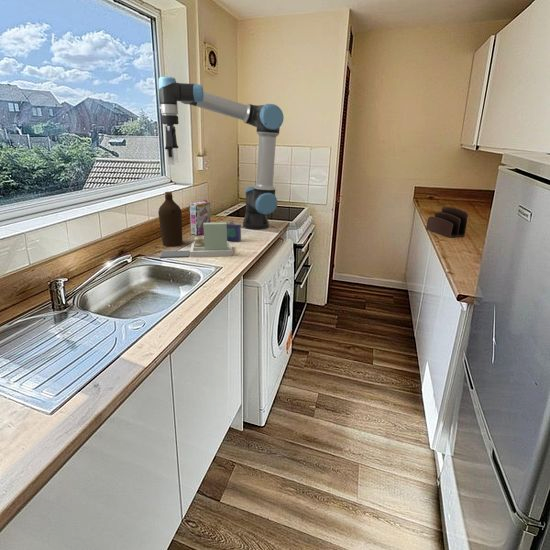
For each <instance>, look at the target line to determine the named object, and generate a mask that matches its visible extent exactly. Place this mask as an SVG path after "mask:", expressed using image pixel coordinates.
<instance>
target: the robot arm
mask: <svg viewBox="0 0 550 550" xmlns="http://www.w3.org/2000/svg"><path fill="white" fill-rule="evenodd" d="M158 93H159V95H158V96H159V104H160V105H159V106H158V108H159V110H160V114H161V116H160V119H161V124H163V125H166V126H165V147H164V149H165V150H166V155H167V165H169V166H170V165H175V163H178V162H179V160H178V159H179V158H178V149H179V145H178V141H177V140H178V139H177V134H176V133H177V132H176V130H177V129H176V126H175V125H179V124H180V123H179V116H178V115H179V110H178V109H179V108H178V102H181V104H184V105H189V106H194V107H197V108H201V109H203V110H206V111H207V110H208V111H210V112H214V113H217V114H221V115H225V116H227V117H230V118H234V119H238V120H240V121H242V122H243V123H244V124H247V125H249V126H252V127H255V128H256V133H257V135H258V152H257V153H258V155H257V175H256V184H255V186H246V188H245V215H244V218H243V220H242V221H243V222H242V227H243V228H244V229H247V230H248V229H249V230H263V229H264V230H265V229H267V228H269V225H270V223H269V222H270V221H269V218H268V216H267V215H270V214H273V212H275V211H276V209H277V207H278V199H277V197H276V187H275V186H274V174H275V173H274V171H275V159H276V145H277V144H276V143H277V137H278V136H279V135H280V130H281V127H282V125H283V124H284V123H283V122H284V119H285V117H284V113H283V110H282V109H281V108H280V107H279V106H278V105H277V104H273V103H266V104H261V105H260V104H259V105H256V104H251V103H247V104H244V103H241V102H239V101H238V102H237V101H234V100H230V99H228V98H225V97H222V96H218V95H215V94H211V93H208V92H205V91H204V88H203V85H202V84H200V83H199V84H198V83H185V82H183V83H180V82H177V81H176V78H175V77H173V76H160V77H159V78H158Z"/></svg>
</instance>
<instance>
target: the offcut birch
mask: <svg viewBox="0 0 550 550" xmlns="http://www.w3.org/2000/svg"><path fill="white" fill-rule="evenodd" d="M194 243H195V246H204V236H194Z"/></svg>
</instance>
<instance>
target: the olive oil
mask: <svg viewBox="0 0 550 550" xmlns="http://www.w3.org/2000/svg"><path fill="white" fill-rule="evenodd" d="M173 197H174V196H173V192H172V191H165V192H164V199H165V200H163V203H162V204H161V205H160V206H159V208H158V219H159V225H160V227H159V228H160V236H161V240H162V246H164V247H177V246H182V245H183V242H184V241H183V214H182V213H183V212H182V209H181V207H180V205H179V204H178V203H176V202H175V201H174V198H173Z"/></svg>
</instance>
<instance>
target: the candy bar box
mask: <svg viewBox="0 0 550 550" xmlns="http://www.w3.org/2000/svg"><path fill="white" fill-rule="evenodd" d="M189 221H190V235H192V236H201V235H204V228H203V223H211V202H210V201H198V202H193V203H189Z"/></svg>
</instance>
